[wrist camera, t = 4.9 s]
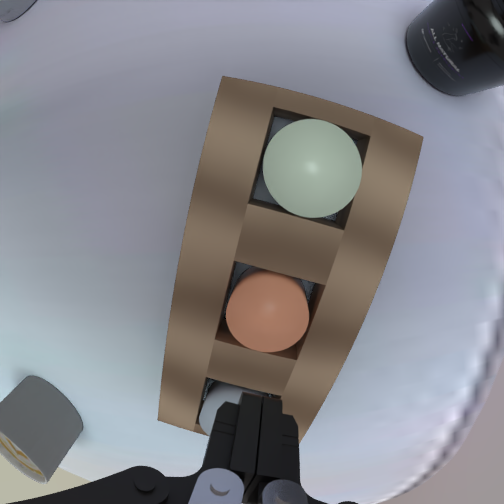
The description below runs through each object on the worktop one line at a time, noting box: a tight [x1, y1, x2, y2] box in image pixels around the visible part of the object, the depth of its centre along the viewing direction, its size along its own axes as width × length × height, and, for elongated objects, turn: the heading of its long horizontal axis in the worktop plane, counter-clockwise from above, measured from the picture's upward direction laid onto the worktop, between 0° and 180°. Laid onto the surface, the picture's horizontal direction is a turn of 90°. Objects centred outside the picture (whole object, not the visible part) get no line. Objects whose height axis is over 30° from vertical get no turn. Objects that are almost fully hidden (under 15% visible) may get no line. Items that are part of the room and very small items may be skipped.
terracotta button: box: [226, 266, 309, 352], centre depth 20 cm, size 5×5×3 cm
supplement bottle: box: [407, 0, 504, 96], centre depth 10 cm, size 7×7×12 cm
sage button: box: [263, 119, 362, 218], centre depth 16 cm, size 5×5×3 cm
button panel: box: [158, 76, 423, 443], centre depth 20 cm, size 26×12×3 cm, turn 166°
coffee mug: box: [0, 376, 83, 484], centre depth 24 cm, size 13×10×10 cm
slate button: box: [199, 380, 269, 436], centre depth 21 cm, size 5×5×3 cm
